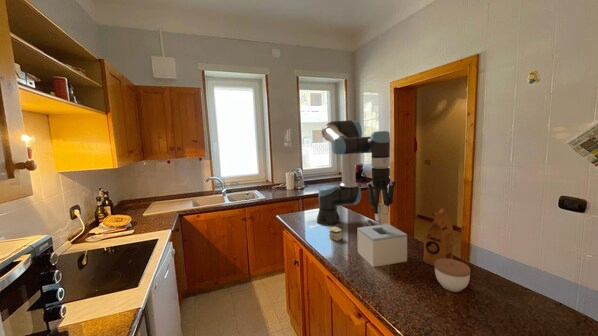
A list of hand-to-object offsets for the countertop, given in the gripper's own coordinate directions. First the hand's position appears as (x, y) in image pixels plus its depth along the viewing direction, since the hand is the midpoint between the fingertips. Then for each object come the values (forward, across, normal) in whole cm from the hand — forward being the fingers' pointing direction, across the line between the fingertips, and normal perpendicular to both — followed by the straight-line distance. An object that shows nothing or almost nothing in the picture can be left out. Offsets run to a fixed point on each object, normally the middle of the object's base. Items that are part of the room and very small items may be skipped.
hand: (381, 220), depth 108 cm
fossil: (+17, +9, +24) cm, 31 cm away
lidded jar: (+17, +11, -27) cm, 34 cm away
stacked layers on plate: (+17, -12, +26) cm, 34 cm away
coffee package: (+17, +20, -11) cm, 29 cm away
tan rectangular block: (0, 0, 0) cm, 0 cm away
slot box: (+17, 0, 0) cm, 17 cm away
